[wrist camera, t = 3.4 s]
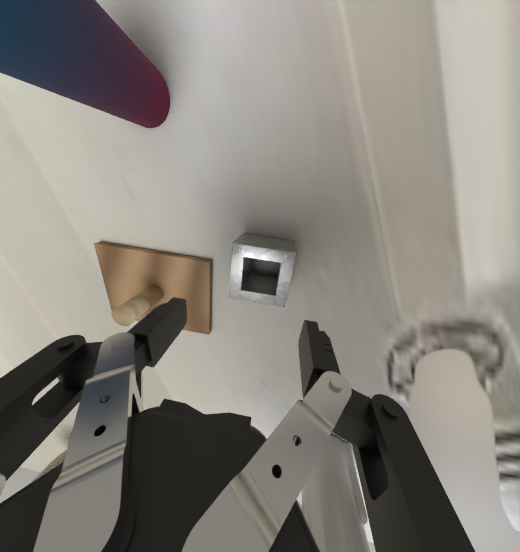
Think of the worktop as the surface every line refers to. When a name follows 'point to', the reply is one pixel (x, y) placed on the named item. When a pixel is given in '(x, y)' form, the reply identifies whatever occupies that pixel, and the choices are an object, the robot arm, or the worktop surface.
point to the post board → (155, 283)
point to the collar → (261, 285)
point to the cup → (81, 58)
